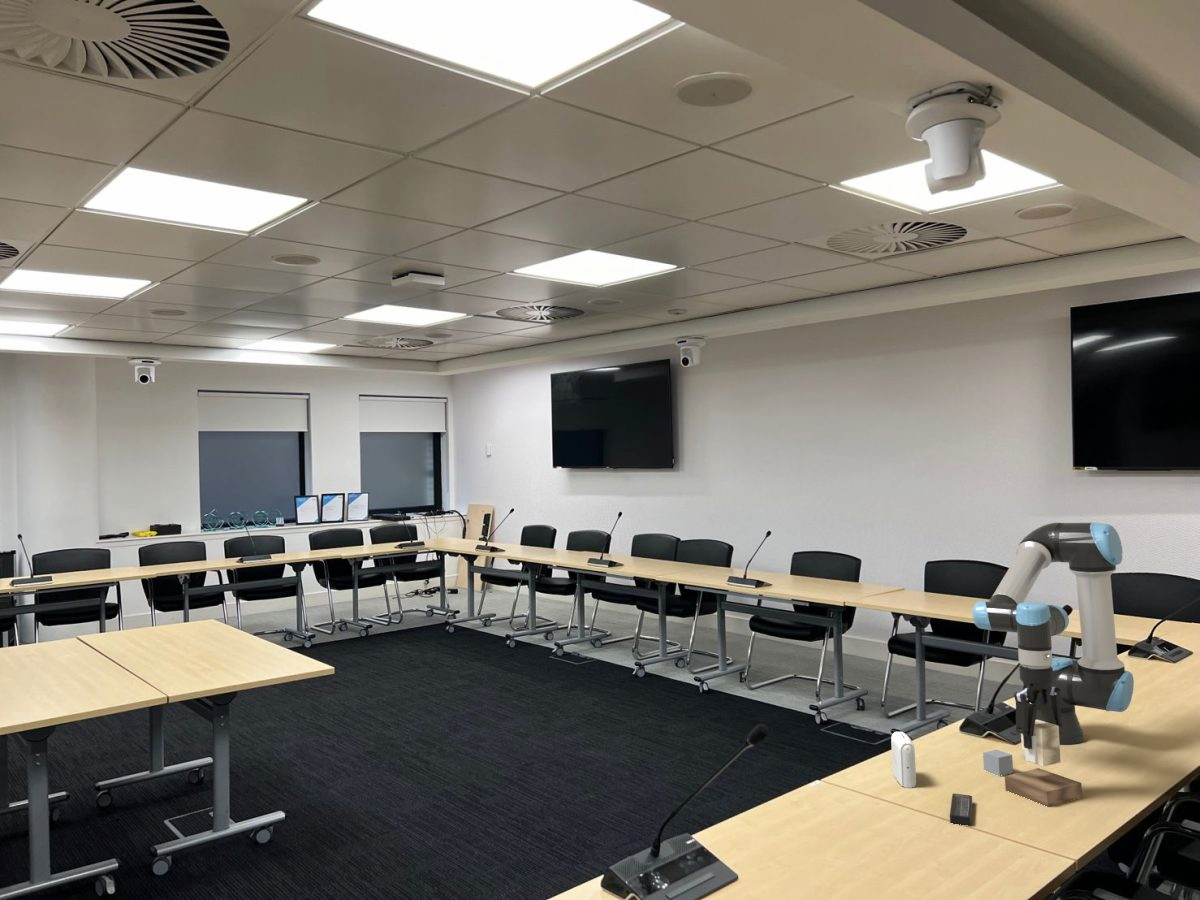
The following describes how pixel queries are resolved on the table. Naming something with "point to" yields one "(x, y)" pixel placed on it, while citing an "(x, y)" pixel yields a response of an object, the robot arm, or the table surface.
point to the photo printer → (903, 759)
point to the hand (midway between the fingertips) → (1041, 758)
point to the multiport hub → (961, 809)
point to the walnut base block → (1043, 787)
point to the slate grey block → (998, 762)
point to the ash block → (1045, 743)
